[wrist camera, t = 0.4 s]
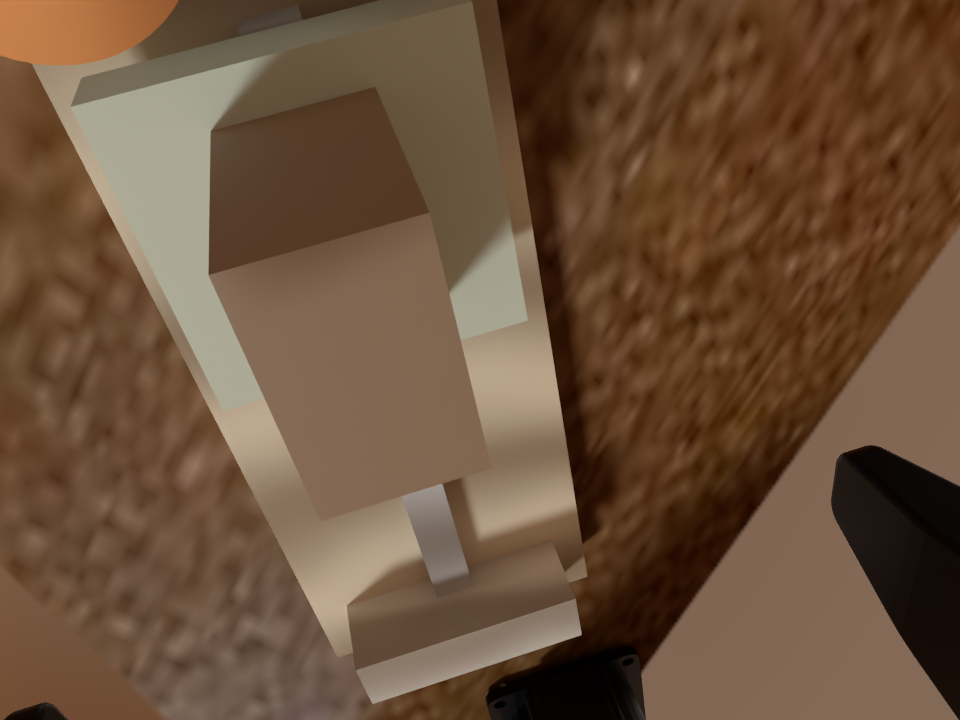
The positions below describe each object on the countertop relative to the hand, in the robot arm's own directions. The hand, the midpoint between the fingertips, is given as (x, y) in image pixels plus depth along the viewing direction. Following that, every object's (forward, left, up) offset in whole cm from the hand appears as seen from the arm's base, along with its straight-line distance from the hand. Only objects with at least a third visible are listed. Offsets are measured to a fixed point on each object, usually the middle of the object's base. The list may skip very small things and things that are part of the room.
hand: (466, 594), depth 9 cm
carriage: (0, 0, -11) cm, 11 cm away
